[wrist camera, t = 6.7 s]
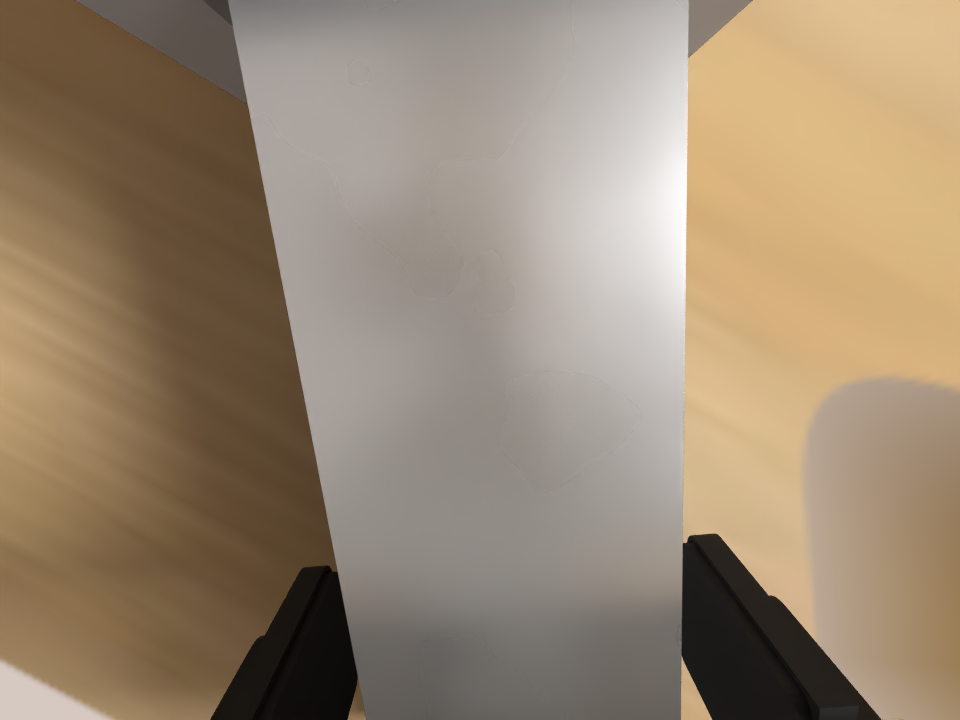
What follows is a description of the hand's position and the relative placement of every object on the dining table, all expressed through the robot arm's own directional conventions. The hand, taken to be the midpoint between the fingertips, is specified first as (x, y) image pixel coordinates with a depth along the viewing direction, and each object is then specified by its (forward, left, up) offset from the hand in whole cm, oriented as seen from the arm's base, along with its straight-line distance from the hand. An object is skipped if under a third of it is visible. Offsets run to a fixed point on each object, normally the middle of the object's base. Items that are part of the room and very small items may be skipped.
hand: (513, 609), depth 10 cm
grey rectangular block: (-3, 0, -2) cm, 4 cm away
